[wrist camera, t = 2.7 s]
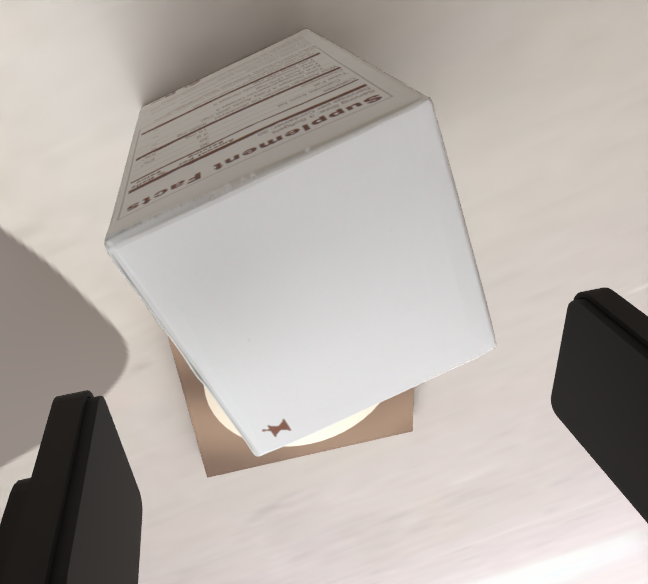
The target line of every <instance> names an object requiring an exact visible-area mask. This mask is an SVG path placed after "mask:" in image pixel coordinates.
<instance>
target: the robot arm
mask: <svg viewBox="0 0 648 584" xmlns="http://www.w3.org/2000/svg"><path fill="white" fill-rule="evenodd" d="M551 404H552V408H553V410H554V412H555V414H556V415H557V417H558V418H559V419H560V420H561V421H562V422H563V424H564V425H565V426H566V427H567V428H568V430H569V431H570V432H571V433H572V434H573V435H574V437H575V438H576V439H577V440H578V441H579V443H580V444H581V445H582V446H583V447H584V448H585V450H586V451H587V452H588V453H589V454H590V456H591V457H592V458H593V459H594V460H595V461H596V463H597V464H598V465H599V466H600V467H601V469H602V470H603V471H604V472H605V473H606V474H607V476H608V477H609V478H610V479H611V480H612V482H613V483H614V484H615V485H616V486H617V487H618V489H619V490H620V491H621V492H622V493H623V495H624V496H625V497H626V498H627V499H628V500H629V502H630V503H631V504H632V505H633V506H634V508H635V509H636V510H637V511H638V512H639V513H640V515H641V516H642V517H643V518H644V519H645V521H646V522H647V523H648V316H646V315H645V314H644V313H642V312H641V311H640V310H638V309H637V308H636V307H634V306H633V305H632V304H630V303H629V302H628V301H626V300H625V299H624V298H622V297H621V296H620V295H618V294H617V293H616V292H614V291H613V290H611V289H609V288H599V289H594V290H589V291H584V292H580V293H578V294H577V295H576V296H575V297H574V300H573V301H571V302H570V303H569V305H568V308H567V314H566V319H565V324H564V330H563V335H562V341H561V346H560V351H559V357H558V362H557V368H556V373H555V379H554V384H553V389H552V395H551ZM141 526H142V501H141V495H140V492H139V489H138V486H137V484H136V481H135V478H134V476H133V473H132V470H131V468H130V465H129V462H128V460H127V457H126V454H125V452H124V449H123V446H122V444H121V441H120V438H119V436H118V433H117V430H116V428H115V425H114V422H113V420H112V417H111V414H110V412H109V409H108V406H107V404H106V401H105V399H104V397H103V396H97V397H93V394H92V393H91V392H90V391H88V390H87V391H82V392H77V393H72V394H67V395H62V396H57V397H55V398H54V400H53V403H52V406H51V410H50V414H49V417H48V420H47V424H46V428H45V431H44V435H43V438H42V442H41V445H40V449H39V452H38V456H37V459H36V463H35V466H34V470H33V473H32V477H31V478H28V479H23V480H18V481H17V482H16V483H15V484H14V486H13V488H12V490H11V492H10V495H9V498H8V502H7V505H6V508H5V511H4V514H3V517H2V521H1V524H0V584H138V574H139V558H140V542H141Z"/></svg>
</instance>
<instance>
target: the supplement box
mask: <svg viewBox="0 0 648 584" xmlns="http://www.w3.org/2000/svg"><path fill="white" fill-rule="evenodd" d="M104 244H105V247H106V250H107V252H108V254H109V256H110V257H111V259H112V261H113V262H114V263H115V264H116V266H117V267H118V268H119V270H120V271H121V273H122V274H123V275H124V277H125V278H126V280H127V281H128V282H129V284H130V285H131V286H132V288H133V289H134V290H135V292H136V293H137V294H138V295H139V297H140V298H141V299H142V301H143V302H144V304H145V305H146V306H147V308H148V309H149V310H150V312H151V313H152V315H153V316H154V317H155V319H156V320H157V321H158V323H159V324H160V326H161V327H162V328H163V330H164V331H165V332H166V334H167V335H168V336H169V338H170V339H171V341H172V342H173V343H174V345H175V346H176V347H177V349H178V350H179V351H180V353H181V354H182V356H183V357H184V359H185V360H186V362H187V363H188V365H189V367H190V368H191V370H192V371H193V372H194V374H195V375H196V377H197V378H198V379H199V380H200V381H201V382H202V384H203V385H204V386H205V387H206V388H207V390H208V391H209V392H210V394H211V395H212V397H213V398H214V400H215V401H216V402H217V404H218V405H219V406H220V408H221V409H222V410H223V412H224V413H225V414H226V416H227V417H228V418H229V420H230V421H231V423H232V424H233V425H234V427H235V428H236V430H237V431H238V432H239V434H240V435H241V436H242V438H243V439H244V441H245V442H246V443H247V445H248V447H249V448H250V450H251V451H252V453H253V454H254V455H255V456H262V455H264V454H266V453H269V452H271V451H274V450H276V449H279V448H281V447H284V446H286V445H288V444H291V443H293V442H295V441H298V440H300V439H302V438H304V437H307V436H309V435H311V434H313V433H316V432H318V431H320V430H322V429H324V428H326V427H329V426H331V425H333V424H335V423H337V422H339V421H341V420H344V419H346V418H348V417H350V416H352V415H354V414H357V413H359V412H361V411H363V410H365V409H368V408H370V407H372V406H374V405H376V404H378V403H380V402H382V401H385V400H387V399H389V398H391V397H393V396H396V395H398V394H400V393H402V392H404V391H406V390H409V389H411V388H413V387H415V386H417V385H419V384H422V383H424V382H426V381H428V380H430V379H432V378H434V377H437V376H439V375H441V374H443V373H445V372H448V371H450V370H452V369H454V368H456V367H459V366H461V365H463V364H465V363H467V362H469V361H471V360H474V359H476V358H478V357H479V356H481V355H483V354H485V353H487V352H489V351H491V350H492V349H494V348H495V346H496V345H497V343H496V339H495V335H494V331H493V327H492V322H491V318H490V314H489V310H488V306H487V302H486V298H485V294H484V291H483V287H482V283H481V280H480V276H479V272H478V268H477V265H476V261H475V257H474V253H473V250H472V246H471V242H470V238H469V235H468V231H467V227H466V223H465V219H464V216H463V212H462V208H461V204H460V201H459V197H458V193H457V190H456V186H455V182H454V179H453V175H452V171H451V168H450V164H449V160H448V157H447V153H446V150H445V146H444V142H443V139H442V135H441V132H440V128H439V125H438V121H437V118H436V114H435V110H434V105H433V102H432V100H431V98H430V97H427V96H425V95H423V94H421V93H420V92H418V91H416V90H414V89H413V88H411V87H409V86H407V85H406V84H405V83H403V82H401V81H399V80H397V79H395V78H394V77H392V76H390V75H388V74H386V73H385V72H383V71H381V70H380V69H378V68H376V67H375V66H373V65H371V64H369V63H368V62H366V61H364V60H362V59H360V58H358V57H357V56H355V55H353V54H352V53H350V52H348V51H346V50H345V49H343V48H341V47H339V46H337V45H336V44H334V43H333V42H330V41H328V40H327V39H325V38H323V37H322V36H320V35H318V34H316V33H314V32H312V31H311V30H309V29H303V30H301V31H300V32H298V33H296V34H294V35H292V36H290V37H288V38H286V39H283V40H281V41H279V42H277V43H275V44H273V45H271V46H269V47H267V48H265V49H263V50H261V51H259V52H256V53H254V54H252V55H250V56H248V57H246V58H244V59H242V60H240V61H238V62H235V63H233V64H231V65H229V66H227V67H225V68H223V69H221V70H219V71H216V72H214V73H212V74H210V75H208V76H206V77H204V78H202V79H199V80H197V81H195V82H193V83H191V84H189V85H187V86H185V87H183V88H181V89H178V90H176V91H174V92H172V93H170V94H168V95H166V96H164V97H162V98H160V99H158V100H155V101H153V102H151V103H149V104H147V105H145V106H143V107H142V108H141V110H140V113H139V117H138V121H137V124H136V128H135V131H134V135H133V139H132V143H131V146H130V150H129V154H128V158H127V162H126V165H125V169H124V173H123V177H122V181H121V185H120V188H119V192H118V196H117V200H116V203H115V207H114V211H113V215H112V218H111V222H110V226H109V229H108V232H107V234H106V237H105V243H104Z"/></svg>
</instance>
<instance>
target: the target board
mask: <svg viewBox="0 0 648 584" xmlns="http://www.w3.org/2000/svg"><path fill="white" fill-rule="evenodd" d="M168 338H169V336H168ZM169 342H170V345H171V349H172V353H173V356H174V360H175V363H176V367H177V371H178V374H179V378H180V381H181V385H182V389H183V392H184V396H185V399H186V403H187V407H188V410H189V414H190V417H191V421H192V425H193V428H194V432H195V435H196V439H197V442H198V446H199V450H200V453H201V457H202V460H203V464H204V468H205V471H206V475H207V477H212V476H216V475H221V474H225V473H230V472H234V471H238V470H243V469H247V468H252V467H256V466H261V465H265V464H269V463H274V462H278V461H283V460H287V459H292V458H296V457H300V456H305V455H309V454H314V453H318V452H323V451H327V450H331V449H336V448H340V447H345V446H349V445H354V444H358V443H362V442H367V441H371V440H376V439H380V438H385V437H389V436H393V435H398V434H402V433H407V432H411V431H413V391H414V387H413V388H411V389H409V390H406V391H404V392H402V393H400V394H398V395H396V396H393V397H391V398H389V399H387V400H385V401H382V402H380V403H378V404H376V405H374V406H372V407H370V408H368V409H365V410H363V411H361V412H359V413H357V414H354V415H352V416H350V417H348V418H346V419H344V420H341V421H339V422H337V423H335V424H333V425H331V426H329V427H326V428H324V429H322V430H320V431H318V432H316V433H313V434H311V435H309V436H307V437H304V438H302V439H300V440H298V441H295V442H293V443H291V444H288V445H286V446H284V447H281V448H279V449H276V450H274V451H271V452H269V453H266V454H264V455H262V456H255V455H254V454H253V453H252V451H251V450H250V448H249V447H248V445H247V443H246V442H245V441H244V439H243V438H242V436H241V435H240V434H239V432H238V431H237V430H236V428H235V427H234V425H233V424H232V423H231V421H230V420H229V418H228V417H227V416H226V414H225V413H224V412H223V410H222V409H221V408H220V406H219V405H218V404H217V402H216V401H215V400H214V398H213V397H212V395H211V394H210V392H209V391H208V390H207V388H206V387H205V386H204V385H203V384H202V382H201V381H200V380H199V379H198V378H197V377H196V375H195V374H194V372H193V371H192V370H191V368H190V367H189V365H188V363H187V362H186V360H185V359H184V357H183V356H182V354H181V353H180V351H179V350H178V349H177V347H176V346H175V345H174V343H173V342H172V341H171V339H170V338H169Z"/></svg>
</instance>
